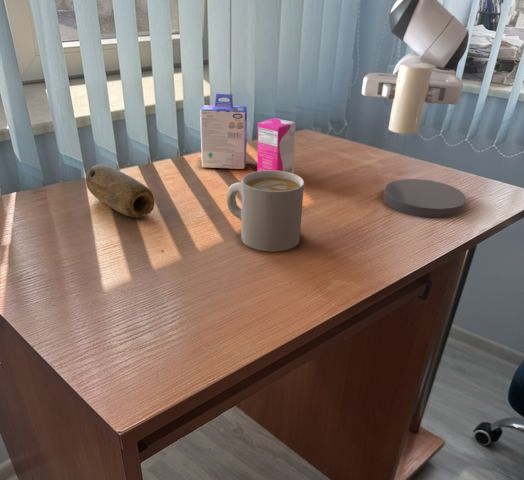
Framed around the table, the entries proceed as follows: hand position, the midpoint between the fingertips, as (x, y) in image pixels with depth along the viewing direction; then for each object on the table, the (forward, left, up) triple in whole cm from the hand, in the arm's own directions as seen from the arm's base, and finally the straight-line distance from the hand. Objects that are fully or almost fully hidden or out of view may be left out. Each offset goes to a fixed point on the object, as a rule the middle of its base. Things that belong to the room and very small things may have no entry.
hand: (410, 96), depth 103 cm
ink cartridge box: (+34, -16, -17) cm, 42 cm away
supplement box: (+25, -6, -17) cm, 31 cm away
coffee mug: (+35, +21, -17) cm, 45 cm away
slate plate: (-1, +12, -17) cm, 21 cm away
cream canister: (0, -1, -7) cm, 7 cm away
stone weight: (+58, +5, -17) cm, 61 cm away
